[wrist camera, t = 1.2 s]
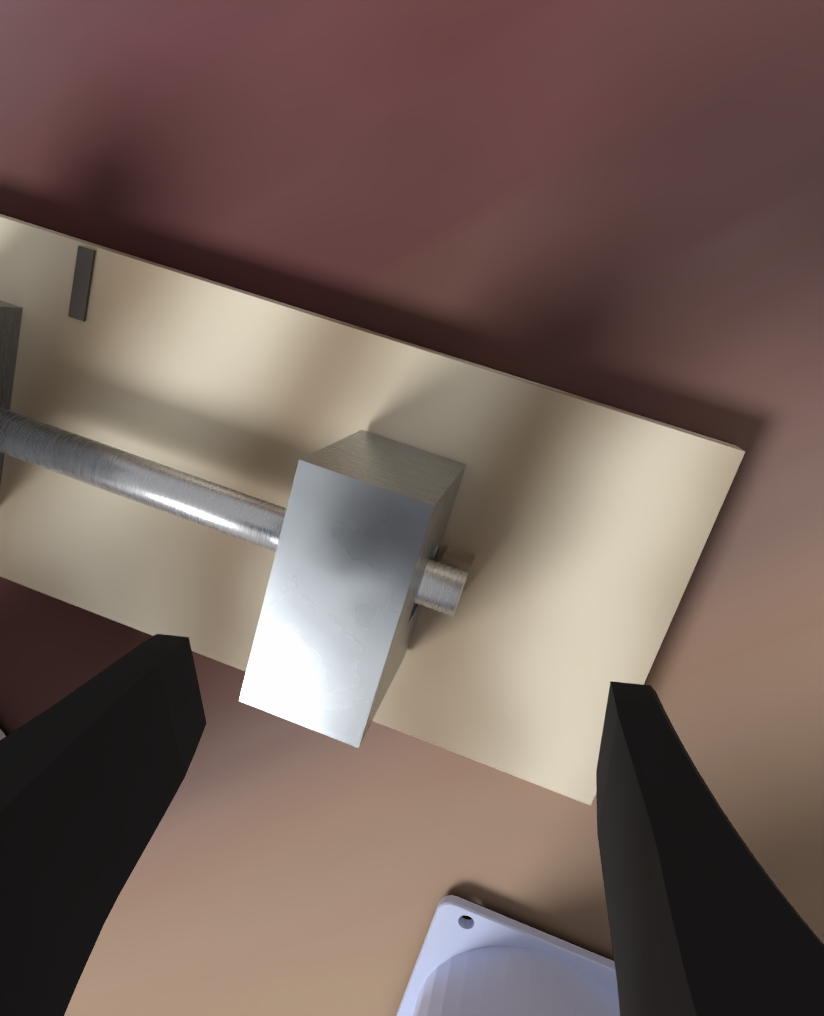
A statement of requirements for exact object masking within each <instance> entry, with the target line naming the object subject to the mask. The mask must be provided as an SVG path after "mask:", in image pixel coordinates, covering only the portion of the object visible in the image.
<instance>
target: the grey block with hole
mask: <svg viewBox="0 0 824 1016" xmlns="http://www.w3.org/2000/svg"><path fill="white" fill-rule="evenodd" d="M465 467H466V464H463V463H460V462H457V461H454V460H451V459H448V458H445V457H442V456H439V455H436V454H433V453H430V452H427V451H424V450H421V449H418V448H415V447H412V446H409V445H406V444H403V443H400V442H397V441H395V440H392V439H389V438H386V437H383V436H380V435H377V434H374V433H371V432H368V431H365V430H360V431H358V432H356V433H354V434H352V435H349V436H347V437H345V438H343V439H341V440H339V441H337V442H335V443H333V444H331V445H328V446H326V447H324V448H322V449H320V450H318V451H316V452H314V453H312V454H310V455H307V456H305V457H303V458H301V459H299V461H298V465H297V469H296V473H295V477H294V481H293V485H292V489H291V493H290V497H289V501H288V505H287V509H286V513H285V517H284V521H283V525H282V529H281V533H280V537H279V542H278V546H277V550H276V554H275V558H274V562H273V566H272V570H271V574H270V578H269V582H268V586H267V590H266V594H265V598H264V602H263V606H262V610H261V614H260V618H259V622H258V626H257V630H256V634H255V638H254V642H253V646H252V650H251V654H250V658H249V662H248V666H247V670H246V674H245V678H244V682H243V686H242V690H241V694H240V698H239V701H241V702H243V703H246V704H248V705H251V706H253V707H256V708H258V709H261V710H263V711H266V712H269V713H271V714H274V715H276V716H279V717H281V718H284V719H286V720H289V721H291V722H294V723H297V724H299V725H302V726H304V727H307V728H309V729H312V730H314V731H317V732H319V733H322V734H324V735H327V736H330V737H332V738H335V739H337V740H340V741H342V742H345V743H347V744H350V745H352V746H355V747H357V748H359V746H360V744H361V742H362V740H363V738H364V736H365V734H366V732H367V730H368V728H369V726H370V724H371V722H372V720H373V718H374V716H375V714H376V712H377V710H378V708H379V706H380V704H381V702H382V700H383V698H384V696H385V694H386V692H387V690H388V688H389V687H390V685H391V683H392V681H393V679H394V677H395V675H396V673H397V671H398V669H399V667H400V665H401V663H402V661H403V659H404V657H405V654H406V651H407V647H408V644H409V641H410V638H411V635H412V632H413V629H414V626H415V622H416V619H417V616H418V613H419V610H420V607H421V605H420V604H417V603H415V600H416V596H417V593H418V590H419V587H420V584H421V581H422V577H423V574H424V571H425V568H426V565H427V562H428V560H429V559H431V560H434V561H435V560H436V557H437V554H438V551H439V548H440V545H441V541H442V538H443V535H444V532H445V529H446V526H447V523H448V520H449V517H450V513H451V510H452V507H453V504H454V501H455V498H456V495H457V492H458V489H459V485H460V482H461V479H462V476H463V473H464V470H465Z"/></svg>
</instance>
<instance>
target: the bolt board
mask: <svg viewBox="0 0 824 1016" xmlns="http://www.w3.org/2000/svg"><path fill="white" fill-rule="evenodd" d="M360 430H365V431H368V432H371V433H374V434H377V435H380V436H383V437H386V438H389V439H392V440H395V441H397V442H400V443H403V444H406V445H409V446H412V447H415V448H418V449H421V450H424V451H427V452H430V453H433V454H436V455H439V456H442V457H445V458H448V459H451V460H454V461H457V462H460V463H463V464H466V467H465V470H464V473H463V476H462V479H461V482H460V485H459V489H458V492H457V495H456V498H455V501H454V504H453V507H452V510H451V513H450V517H449V520H448V523H447V526H446V529H445V532H444V535H443V538H442V541H441V545H440V548H439V551H438V554H437V557H436V560H435V561H434V560H431V559H429V560H428V562H427V565H426V568H425V571H424V574H423V577H422V581H421V584H420V587H419V590H418V593H417V596H416V600H415V603H417V604H420V605H421V607H420V610H419V613H418V616H417V619H416V622H415V626H414V629H413V632H412V635H411V638H410V641H409V644H408V647H407V651H406V654H405V657H404V659H403V661H402V663H401V665H400V667H399V669H398V671H397V673H396V675H395V677H394V679H393V681H392V683H391V685H390V687H389V688H388V690H387V692H386V694H385V696H384V698H383V700H382V702H381V704H380V706H379V708H378V710H377V712H376V714H375V716H374V718H373V720H372V721H374V722H377V723H379V724H382V725H384V726H387V727H389V728H392V729H395V730H397V731H400V732H402V733H405V734H408V735H410V736H413V737H415V738H418V739H420V740H423V741H426V742H428V743H431V744H433V745H436V746H438V747H441V748H444V749H446V750H449V751H451V752H454V753H457V754H459V755H462V756H464V757H467V758H469V759H472V760H475V761H477V762H480V763H482V764H485V765H487V766H490V767H493V768H495V769H498V770H500V771H503V772H506V773H508V774H511V775H513V776H516V777H518V778H521V779H524V780H526V781H529V782H531V783H534V784H536V785H539V786H542V787H544V788H547V789H549V790H552V791H555V792H557V793H560V794H562V795H565V796H567V797H570V798H573V799H575V800H578V801H580V802H583V803H585V804H588V805H591V804H592V801H593V799H594V797H595V795H596V792H597V786H596V770H597V763H598V757H599V751H600V744H601V738H602V732H603V725H604V719H605V713H606V707H607V700H608V694H609V688H610V681H613V682H622V683H632V684H641V685H644V683H645V680H646V678H647V676H648V673H649V671H650V669H651V667H652V664H653V662H654V660H655V657H656V655H657V653H658V650H659V648H660V646H661V644H662V641H663V639H664V637H665V634H666V632H667V630H668V628H669V625H670V623H671V621H672V618H673V616H674V614H675V612H676V609H677V607H678V605H679V602H680V600H681V598H682V596H683V593H684V591H685V589H686V586H687V584H688V582H689V580H690V577H691V575H692V573H693V570H694V568H695V566H696V564H697V561H698V559H699V557H700V554H701V552H702V550H703V548H704V545H705V543H706V541H707V538H708V536H709V534H710V532H711V529H712V527H713V525H714V522H715V520H716V518H717V516H718V513H719V511H720V509H721V506H722V504H723V502H724V500H725V497H726V495H727V493H728V490H729V488H730V486H731V484H732V481H733V479H734V477H735V474H736V472H737V470H738V468H739V465H740V463H741V461H742V458H743V456H744V454H745V451H743V450H742V449H741V448H739V447H738V446H736V445H733V444H730V443H726V442H723V441H720V440H717V439H714V438H711V437H707V436H704V435H701V434H698V433H695V432H691V431H688V430H685V429H682V428H679V427H676V426H672V425H669V424H666V423H663V422H660V421H657V420H653V419H650V418H647V417H644V416H641V415H637V414H634V413H631V412H628V411H625V410H622V409H618V408H615V407H612V406H609V405H606V404H603V403H599V402H596V401H593V400H590V399H587V398H583V397H580V396H577V395H574V394H571V393H568V392H564V391H561V390H558V389H555V388H552V387H549V386H545V385H542V384H539V383H536V382H533V381H530V380H526V379H523V378H520V377H517V376H514V375H510V374H507V373H504V372H501V371H498V370H495V369H491V368H488V367H485V366H482V365H479V364H476V363H472V362H469V361H466V360H463V359H460V358H456V357H453V356H450V355H447V354H444V353H441V352H437V351H434V350H431V349H428V348H425V347H422V346H418V345H415V344H412V343H409V342H406V341H403V340H399V339H396V338H393V337H390V336H387V335H383V334H380V333H377V332H374V331H371V330H368V329H364V328H361V327H358V326H355V325H352V324H349V323H345V322H342V321H339V320H336V319H333V318H329V317H326V316H323V315H320V314H317V313H314V312H310V311H307V310H304V309H301V308H298V307H295V306H291V305H288V304H285V303H282V302H279V301H275V300H272V299H269V298H266V297H263V296H260V295H256V294H253V293H250V292H247V291H244V290H241V289H237V288H234V287H231V286H228V285H225V284H222V283H218V282H215V281H212V280H209V279H206V278H202V277H199V276H196V275H193V274H190V273H187V272H183V271H180V270H177V269H174V268H171V267H168V266H164V265H161V264H158V263H155V262H152V261H148V260H145V259H142V258H139V257H136V256H133V255H129V254H126V253H123V252H120V251H117V250H114V249H110V248H107V247H104V246H101V245H98V244H94V243H91V242H88V241H85V240H82V239H79V238H75V237H72V236H69V235H66V234H63V233H60V232H56V231H53V230H50V229H47V228H44V227H41V226H37V225H34V224H31V223H28V222H25V221H21V220H18V219H15V218H12V217H9V216H6V215H2V214H0V577H3V578H5V579H8V580H10V581H13V582H16V583H18V584H21V585H23V586H26V587H28V588H31V589H34V590H36V591H39V592H41V593H44V594H46V595H49V596H52V597H54V598H57V599H59V600H62V601H65V602H67V603H70V604H72V605H75V606H77V607H80V608H83V609H85V610H88V611H90V612H93V613H95V614H98V615H101V616H103V617H106V618H108V619H111V620H114V621H116V622H119V623H121V624H124V625H126V626H129V627H132V628H134V629H137V630H139V631H142V632H144V633H147V634H150V635H152V636H154V635H156V634H163V635H173V636H182V637H189V640H190V645H191V650H192V651H193V652H196V653H199V654H201V655H204V656H206V657H209V658H212V659H214V660H217V661H219V662H222V663H224V664H227V665H230V666H232V667H235V668H237V669H240V670H242V671H245V672H246V670H247V666H248V662H249V658H250V654H251V650H252V646H253V642H254V638H255V634H256V630H257V626H258V622H259V618H260V614H261V610H262V606H263V602H264V598H265V594H266V590H267V586H268V582H269V578H270V574H271V570H272V566H273V562H274V558H275V554H276V550H277V546H278V542H279V537H280V533H281V529H282V525H283V521H284V517H285V513H286V509H287V505H288V501H289V497H290V493H291V489H292V485H293V481H294V477H295V473H296V469H297V465H298V461H299V459H301V458H303V457H305V456H307V455H310V454H312V453H314V452H316V451H318V450H320V449H322V448H324V447H326V446H328V445H331V444H333V443H335V442H337V441H339V440H341V439H343V438H345V437H347V436H349V435H352V434H354V433H356V432H358V431H360Z"/></svg>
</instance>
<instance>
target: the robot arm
mask: <svg viewBox="0 0 824 1016" xmlns="http://www.w3.org/2000/svg"><path fill="white" fill-rule="evenodd" d="M205 725H206V719H205V714H204V709H203V705H202V700H201V695H200V690H199V685H198V680H197V675H196V670H195V665H194V660H193V655H192V650H191V645H190V640H189V637H182V636H173V635H163V634H156V635H154V636H153V637H151V638H149V639H148V640H146V641H145V642H143V643H142V644H140V645H139V646H137V647H136V648H135V649H133V650H132V651H130V652H129V653H127V654H126V655H125V656H123V657H122V658H120V659H119V660H118V661H116V662H115V663H113V664H112V665H111V666H109V667H108V668H106V669H105V670H104V671H102V672H101V673H99V674H98V675H97V676H95V677H94V678H92V679H91V680H89V681H88V682H87V683H85V684H84V685H82V686H81V687H79V688H78V689H77V690H75V691H74V692H72V693H71V694H69V695H68V696H67V697H65V698H64V699H62V700H61V701H59V702H58V703H57V704H55V705H54V706H52V707H51V708H49V709H48V710H46V711H45V712H43V713H42V714H40V715H38V716H37V717H35V718H34V719H32V720H31V721H29V722H28V723H26V724H25V725H23V726H21V727H20V728H18V729H17V730H15V731H14V732H12V733H11V734H9V735H7V736H6V737H4V738H3V739H1V740H0V1016H64V1014H65V1012H66V1009H67V1007H68V1004H69V1002H70V1000H71V997H72V995H73V992H74V990H75V988H76V985H77V983H78V981H79V979H80V976H81V974H82V972H83V970H84V967H85V965H86V963H87V961H88V958H89V956H90V954H91V952H92V949H93V947H94V945H95V943H96V940H97V938H98V936H99V934H100V931H101V929H102V927H103V925H104V923H105V921H106V919H107V917H108V915H109V913H110V911H111V909H112V907H113V905H114V903H115V901H116V899H117V897H118V896H119V894H120V892H121V890H122V888H123V887H124V885H125V883H126V881H127V880H128V878H129V876H130V874H131V872H132V871H133V869H134V867H135V865H136V864H137V862H138V860H139V858H140V856H141V855H142V853H143V851H144V849H145V848H146V846H147V844H148V842H149V841H150V839H151V837H152V835H153V833H154V832H155V830H156V828H157V826H158V825H159V823H160V821H161V819H162V817H163V816H164V814H165V812H166V810H167V808H168V807H169V805H170V803H171V801H172V799H173V798H174V796H175V794H176V792H177V790H178V788H179V787H180V785H181V783H182V781H183V779H184V777H185V775H186V773H187V770H188V768H189V765H190V763H191V761H192V758H193V756H194V754H195V751H196V749H197V746H198V743H199V741H200V738H201V736H202V733H203V730H204V728H205ZM596 786H597V829H598V840H599V848H600V856H601V864H602V872H603V879H604V887H605V895H606V902H607V910H608V917H609V925H610V932H611V940H612V947H613V955H614V961H612V960H610V959H607V958H605V957H603V956H600V955H598V954H595V953H593V952H591V951H588V950H586V949H583V948H581V947H578V946H576V945H574V944H571V943H569V942H566V941H564V940H562V939H559V938H557V937H554V936H552V935H549V934H547V933H545V932H542V931H540V930H537V929H535V928H533V927H530V926H528V925H525V924H523V923H520V922H518V921H516V920H513V919H511V918H508V917H506V916H504V915H501V914H499V913H496V912H494V911H491V910H489V909H487V908H484V907H482V906H479V905H477V904H475V903H472V902H470V901H467V900H465V899H462V898H460V897H458V896H453V895H448V896H445V897H443V898H441V900H440V901H439V903H438V906H437V909H436V911H435V914H434V916H433V919H432V922H431V924H430V927H429V930H428V932H427V935H426V937H425V940H424V943H423V945H422V948H421V951H420V953H419V956H418V958H417V961H416V964H415V966H414V969H413V972H412V974H411V977H410V980H409V982H408V985H407V987H406V990H405V993H404V995H403V998H402V1001H401V1003H400V1006H399V1008H398V1011H397V1014H396V1016H824V944H823V943H822V942H821V941H820V940H819V938H818V937H817V936H816V935H815V934H814V932H813V931H812V930H811V929H810V928H809V927H808V925H807V924H806V923H805V922H804V921H803V919H802V918H801V917H800V916H799V914H798V913H797V912H796V911H795V909H794V908H793V907H792V906H791V904H790V903H789V902H788V901H787V899H786V898H785V897H784V896H783V894H782V893H781V892H780V890H779V889H778V888H777V887H776V885H775V884H774V883H773V881H772V880H771V879H770V877H769V876H768V875H767V873H766V872H765V871H764V869H763V868H762V867H761V865H760V864H759V862H758V861H757V860H756V858H755V857H754V856H753V854H752V853H751V851H750V850H749V848H748V847H747V846H746V844H745V843H744V841H743V840H742V838H741V837H740V836H739V834H738V833H737V831H736V830H735V828H734V827H733V825H732V824H731V822H730V821H729V819H728V818H727V816H726V815H725V813H724V812H723V810H722V809H721V807H720V806H719V804H718V803H717V801H716V799H715V798H714V796H713V794H712V793H711V791H710V790H709V788H708V786H707V785H706V783H705V782H704V780H703V778H702V777H701V775H700V774H699V772H698V770H697V769H696V767H695V765H694V763H693V762H692V760H691V758H690V757H689V755H688V753H687V751H686V750H685V748H684V746H683V744H682V742H681V741H680V739H679V737H678V735H677V733H676V731H675V729H674V728H673V726H672V724H671V722H670V720H669V718H668V716H667V714H666V712H665V710H664V708H663V706H662V704H661V702H660V700H659V698H658V695H657V693H656V691H655V690H654V689H653V688H652V687H651V686H650V685H641V684H632V683H622V682H613V681H610V688H609V694H608V700H607V707H606V713H605V719H604V725H603V732H602V738H601V744H600V751H599V757H598V763H597V770H596ZM463 915H466V916H469V917H471V918H472V919H471V920H468V919H465V918H463V917H462V916H463Z"/></svg>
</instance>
